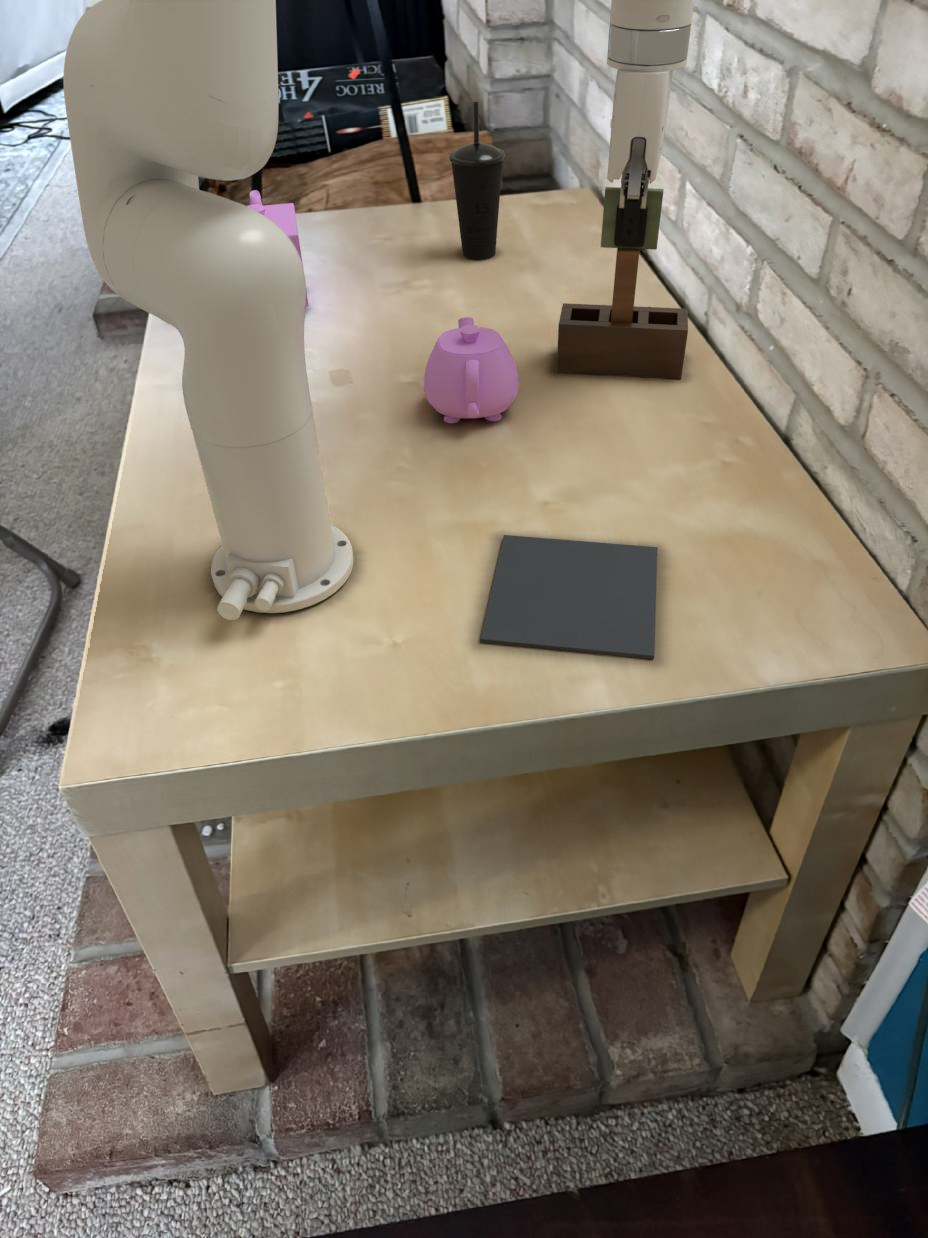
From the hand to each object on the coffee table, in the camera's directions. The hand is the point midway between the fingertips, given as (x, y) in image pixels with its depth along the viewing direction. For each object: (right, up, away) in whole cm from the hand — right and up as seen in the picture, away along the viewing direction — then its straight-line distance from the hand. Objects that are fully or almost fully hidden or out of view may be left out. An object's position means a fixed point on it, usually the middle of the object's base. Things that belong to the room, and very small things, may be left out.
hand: (629, 242), depth 99 cm
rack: (+1, -10, +10) cm, 14 cm away
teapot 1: (-44, +3, +27) cm, 52 cm away
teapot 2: (-17, -16, +4) cm, 24 cm away
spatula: (0, -10, +9) cm, 14 cm away
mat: (-8, -39, -20) cm, 44 cm away
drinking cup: (-16, +13, +36) cm, 42 cm away
